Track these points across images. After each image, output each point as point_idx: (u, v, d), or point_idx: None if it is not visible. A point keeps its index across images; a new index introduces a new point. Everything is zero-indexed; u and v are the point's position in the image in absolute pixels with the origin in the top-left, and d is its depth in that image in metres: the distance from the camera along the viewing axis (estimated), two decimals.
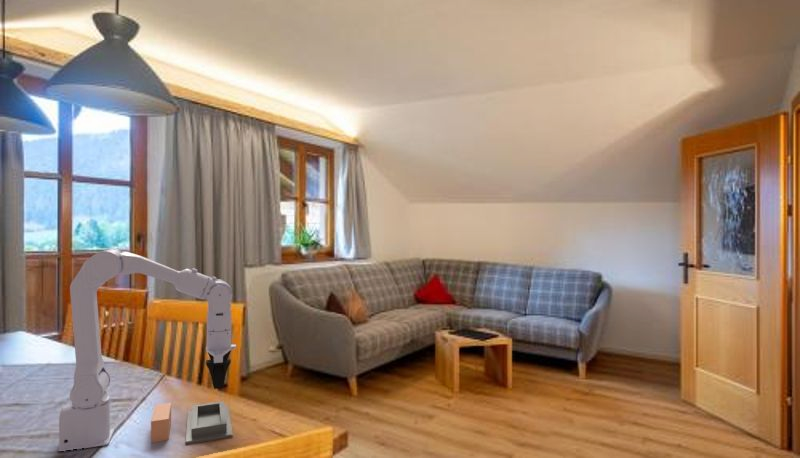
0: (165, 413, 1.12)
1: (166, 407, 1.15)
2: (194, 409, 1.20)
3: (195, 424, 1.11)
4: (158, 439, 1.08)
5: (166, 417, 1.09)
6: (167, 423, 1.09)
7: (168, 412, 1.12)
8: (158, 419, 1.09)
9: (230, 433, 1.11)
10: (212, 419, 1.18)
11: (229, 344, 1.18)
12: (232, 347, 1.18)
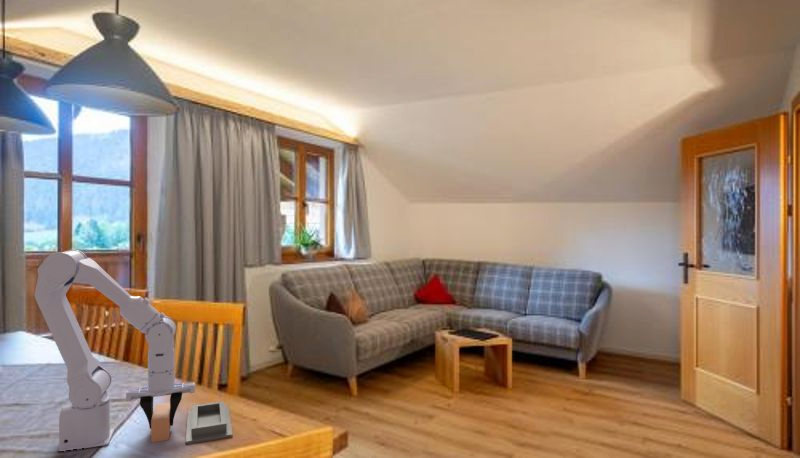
0: (165, 412, 1.12)
1: (167, 406, 1.15)
2: (194, 409, 1.20)
3: (195, 424, 1.11)
4: (158, 438, 1.08)
5: (166, 417, 1.09)
6: (167, 422, 1.09)
7: (168, 411, 1.12)
8: (158, 418, 1.09)
9: (230, 433, 1.11)
10: (212, 419, 1.18)
11: (154, 389, 1.10)
12: None
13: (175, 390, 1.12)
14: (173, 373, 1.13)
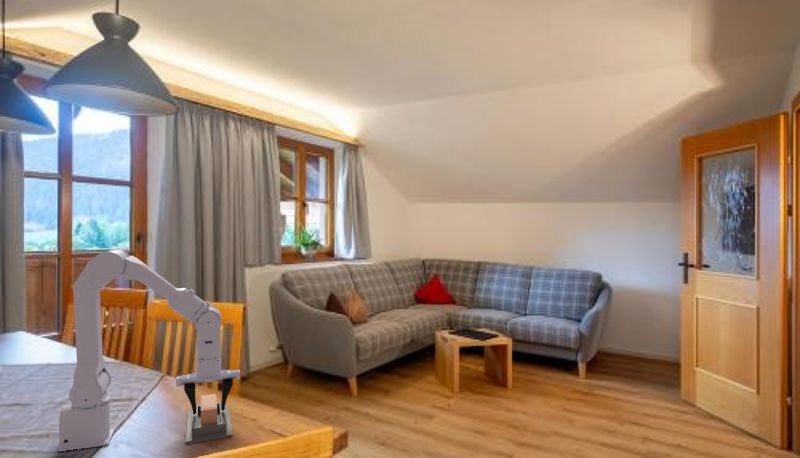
0: (213, 403, 1.16)
1: (213, 397, 1.19)
2: None
3: (195, 424, 1.11)
4: None
5: (214, 407, 1.14)
6: (216, 413, 1.13)
7: (215, 402, 1.16)
8: (207, 409, 1.13)
9: (230, 433, 1.11)
10: None
11: (202, 375, 1.14)
12: None
13: (222, 376, 1.16)
14: (220, 360, 1.17)
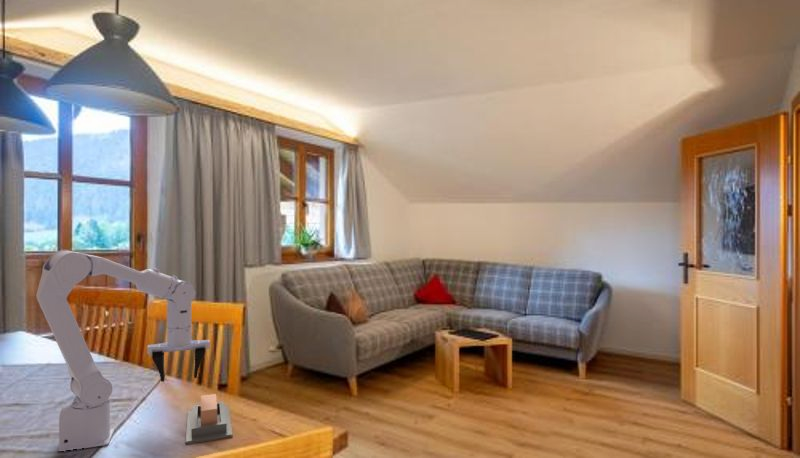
0: (213, 403, 1.16)
1: (213, 397, 1.19)
2: (194, 409, 1.20)
3: (195, 424, 1.11)
4: None
5: (214, 407, 1.14)
6: (216, 413, 1.13)
7: (215, 402, 1.16)
8: (207, 409, 1.13)
9: (230, 433, 1.11)
10: None
11: (172, 343, 1.19)
12: (174, 347, 1.19)
13: (192, 345, 1.21)
14: (190, 330, 1.22)
